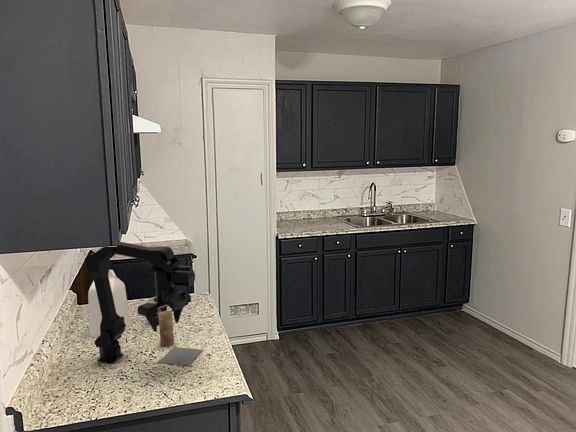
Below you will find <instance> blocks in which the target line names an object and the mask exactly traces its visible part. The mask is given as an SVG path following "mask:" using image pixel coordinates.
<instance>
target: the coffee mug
mask: <svg viewBox="0 0 576 432" xmlns="http://www.w3.org/2000/svg"><path fill="white" fill-rule="evenodd" d="M154 298H156V296H153V297H150V298H148V299H147V300H146V303H150V304H156V303H157V302H155V301H154ZM163 311H168V306H165V307H162V308H159V309H158V312H157V314H159V313H160V312H163ZM170 311H171V312H172V313H173V310H172V309H171V310H170ZM157 326H159V315H158V317H157Z"/></svg>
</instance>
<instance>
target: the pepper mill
mask: <svg viewBox="0 0 576 432" xmlns="http://www.w3.org/2000/svg"><path fill="white" fill-rule="evenodd" d="M158 315H159V325H158V327H159V339H160V340H159V341H160V346H161V347H163V348H168V347H171V346H174V345H175V337H174V323H173V311H172V312H171V310H167V311H163V312H160V313H159V314H158Z"/></svg>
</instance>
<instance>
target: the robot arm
mask: <svg viewBox="0 0 576 432" xmlns="http://www.w3.org/2000/svg"><path fill="white" fill-rule="evenodd" d="M116 255H117V256H118V255H119V256H124V257H128V258H133V259H139V260H143V261H145V262H147V264H149V265H152V266H151V268H149V269H148V272H152V273H154V278H155V279H154V280H155V281H154V282H155V286H153V287H152V289H153V291H155V297H156V298H154V301H155V302H157V303H156V304H150V303H147V302H145V303H143V304H140V305H138V307H137V314H138V315H140V316H142V317H145V319H146V320H147V322H148V324H149V325H150V326H151V328H152V330H153V332H155V333H156V332H157V331H158V325H157V317H158V314H157V312H158V309H159V308H162V307H165V306H167V307H169V308H170V309H171V310H173V311H172V314H173V319H174V322H175V323H176V324H178V323H179V321H180V318H181V316H182V315H181V314H182V312H183V310H184V308H185V307H186V306H188V305H189V303H190V302H192V296H191V294H189V292H187V291H178V292H177V287H176V286H180V287H181V286H183V287H193V286H194V284H195V281H196V273H195V270H194V269H193V266H192V265H182V263H181V262H180V261H179V259H178V258H177V256H176V255H175V253H174V251H173V249H172V248H171V247H169V246H166V245H165V246H160V245H159V246H143V245H139V244H134V243H128V242H123V241H120V245H119V246H117V247H104V246H103V247H101V248H100V249H98V250H97V251H94V252H93V253H90V254H88V255H86V256H85V258H84V260H83V264H84V267H85V270H86V271H87V274H88V275H89V276H90V277H91V278H92V279H93V281H94V283H95V288H96V292H97V297H98V301H99V306H100V310H101V315H102V320H101V324H100V336H97V338H96V339H95V340H94V341H93V342H94V345H95V347H96V348H98V349H99V351H98V352H99V358H98V359H97V362H102V363H108V364H109V363H110V364H113V363H115V362H116V361H117V360H119V359H120V358H122V356H123V355H124V353H123V352H122V348H121V345H120V341H119V340H120V339H121V338H122V335H123V334H124V332H125V331H126V330H125V327H126V325H125V322H124V317H123V316H122V317H120V316H119V315H118V314H117V313H116V309H115V304H114V300H113V295H112V291H111V286H110V281H109V277H108V273H109V270H111V259H112V258H114V256H116ZM169 263H170V264H169Z"/></svg>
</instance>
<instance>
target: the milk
mask: <svg viewBox="0 0 576 432" xmlns="http://www.w3.org/2000/svg"><path fill="white" fill-rule="evenodd" d="M108 277H109V281H110V286H111V291H112V295H113V300H114V304H115V309H116V313H117V314H118V315H119V316H120V317H122V316H123V317H124V322H125V325H126V327H125V331H126V330H127V329H128V328H130V326H132V325H131V319H130V317H131V316H130V312H129V305H128V297H127V291H126V285H125V283H124V282H123V281H122V280H121V279H120V278H118V277H117V275H116V274H115V272H114V270H113V269H109V273H108ZM87 293H88V294H87V301H88V322H89V337H99V336H100V324H101V320H102V315H101V310H100V306H99V301H98V297H97V292H96V288H95V283H94V280H93V281H92V283H91V285H90V287H89V290H88V292H87Z"/></svg>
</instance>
